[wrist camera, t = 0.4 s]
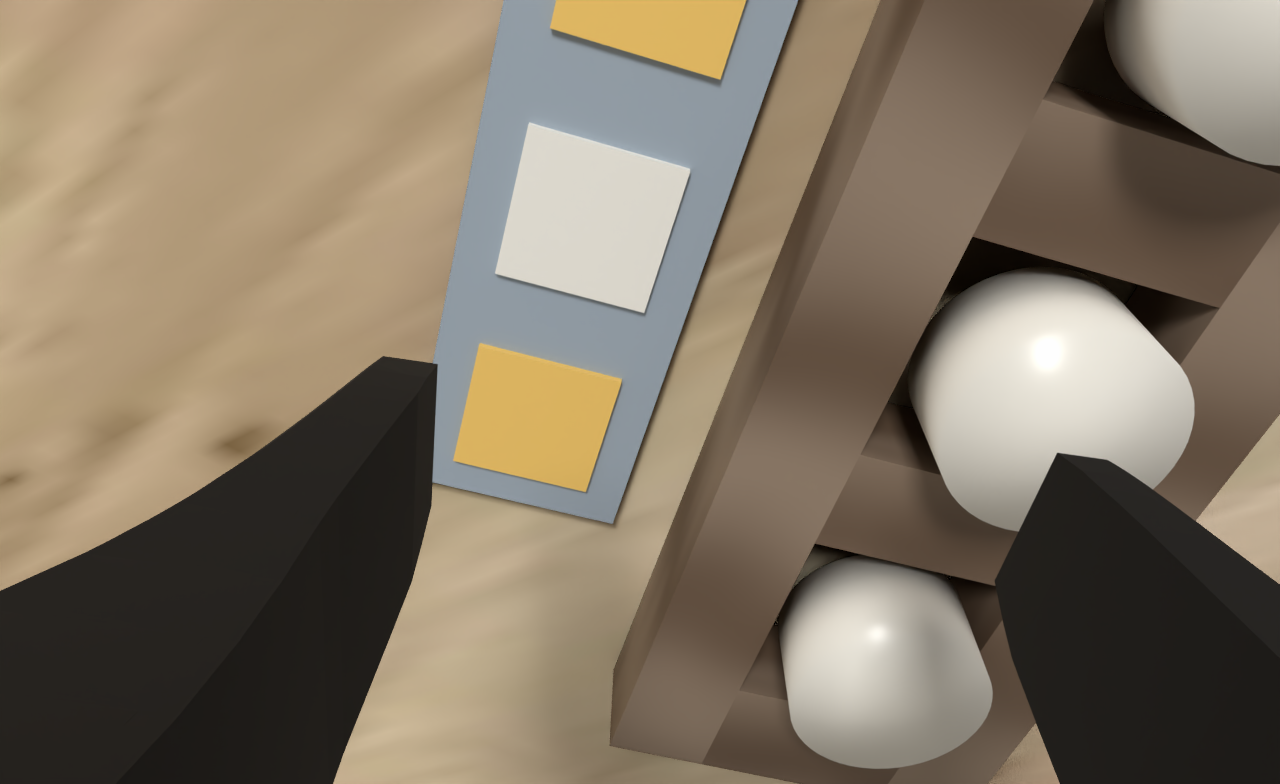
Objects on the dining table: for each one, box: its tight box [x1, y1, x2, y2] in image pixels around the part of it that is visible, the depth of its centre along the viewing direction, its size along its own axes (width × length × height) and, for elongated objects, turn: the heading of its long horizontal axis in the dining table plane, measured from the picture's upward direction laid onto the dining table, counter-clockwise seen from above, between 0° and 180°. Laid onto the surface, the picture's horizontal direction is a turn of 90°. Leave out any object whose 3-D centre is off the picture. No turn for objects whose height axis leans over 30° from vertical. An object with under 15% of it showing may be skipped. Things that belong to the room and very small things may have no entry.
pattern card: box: [432, 0, 798, 524], centre depth 19 cm, size 15×5×1 cm, turn 164°
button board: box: [610, 0, 1280, 784], centre depth 19 cm, size 26×10×2 cm, turn 164°
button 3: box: [778, 555, 993, 769], centre depth 22 cm, size 4×4×2 cm
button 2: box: [908, 267, 1194, 532], centre depth 18 cm, size 4×4×2 cm
